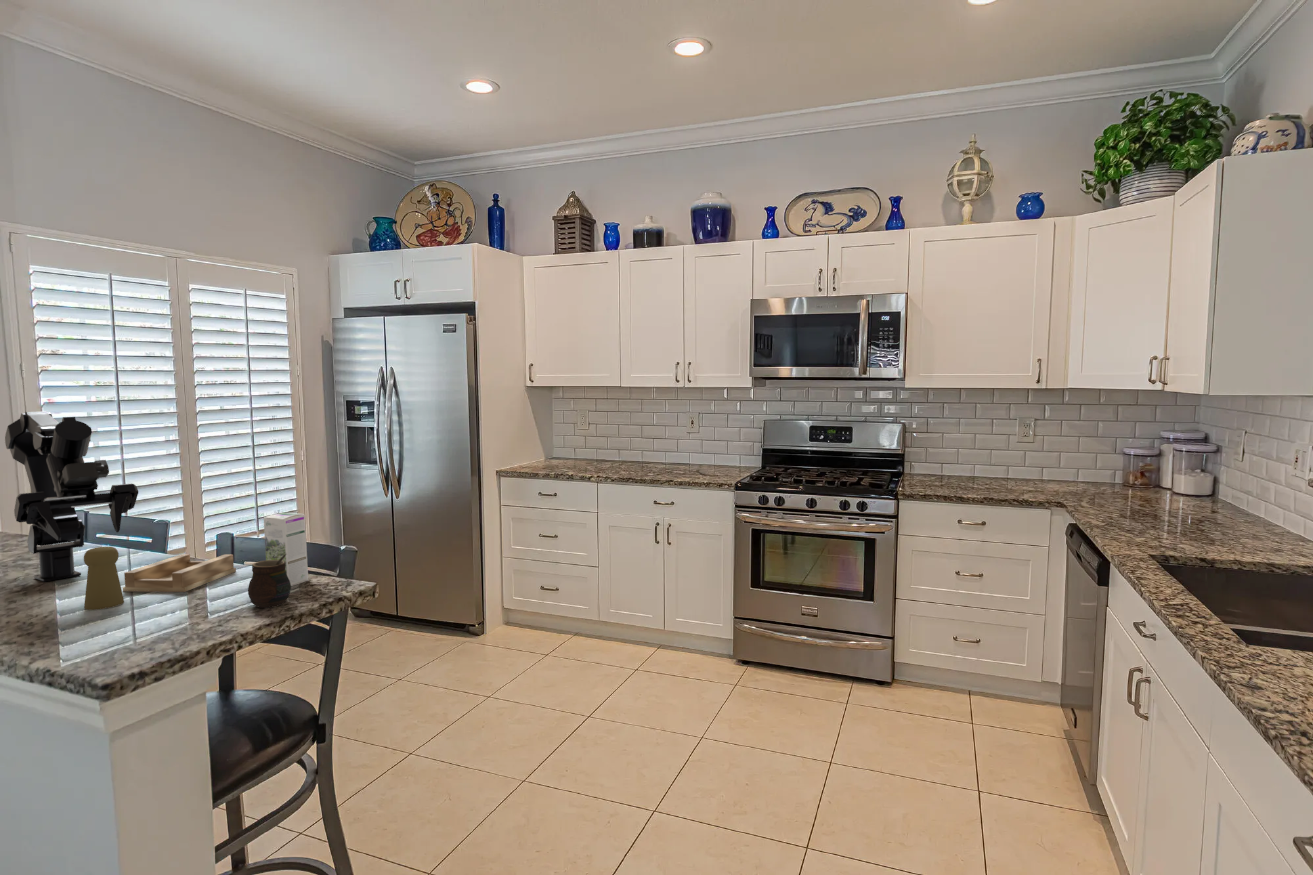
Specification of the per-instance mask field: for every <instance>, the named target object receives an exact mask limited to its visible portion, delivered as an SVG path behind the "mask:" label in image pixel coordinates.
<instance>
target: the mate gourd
mask: <svg viewBox="0 0 1313 875" xmlns="http://www.w3.org/2000/svg"><path fill="white" fill-rule="evenodd" d="M285 556H286V554H285V555H283V557H282V558H281V559H279V560H266V559H265V560H260V561H257V562H254V563H253V564H251V572H252V576H251V579H250V581H249V584H248V586H247V587H248V588H247V594H248V597H249V599H250V602H251V604H253V605H254V606H255V607H257V608H262V609H268V608H274V607H279V606H281V605H283V604H284V603H285V602H286V601H287V600H288V599H289V597H290V593H291V591H292V586H291V583H290V580H289V579H288V577H287V574H286V572H285V561H282V560H283V558H284V557H285Z"/></svg>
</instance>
